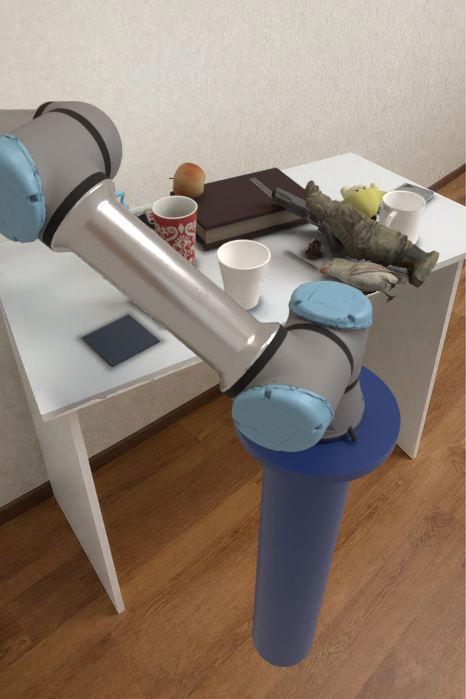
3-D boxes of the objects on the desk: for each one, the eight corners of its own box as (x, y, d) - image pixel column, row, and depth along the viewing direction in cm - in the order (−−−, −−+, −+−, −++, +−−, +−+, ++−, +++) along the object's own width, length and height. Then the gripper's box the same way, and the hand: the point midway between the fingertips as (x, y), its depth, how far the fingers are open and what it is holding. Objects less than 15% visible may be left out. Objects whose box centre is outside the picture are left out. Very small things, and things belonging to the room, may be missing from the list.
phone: (434, 196, 147) (435, 192, 146) (403, 221, 138) (404, 216, 137) (404, 187, 151) (405, 182, 150) (372, 210, 142) (373, 205, 141)
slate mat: (160, 341, 106) (160, 340, 106) (112, 366, 101) (112, 365, 101) (128, 315, 111) (128, 314, 111) (82, 338, 106) (82, 336, 106)
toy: (376, 172, 142) (401, 188, 129) (379, 200, 145) (404, 217, 132) (323, 188, 142) (342, 205, 129) (327, 215, 145) (347, 234, 132)
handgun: (267, 224, 122) (269, 195, 130) (346, 260, 126) (344, 230, 135) (273, 213, 120) (275, 184, 129) (354, 250, 124) (351, 220, 133)
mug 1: (206, 270, 122) (204, 212, 113) (164, 280, 120) (159, 221, 111) (185, 240, 131) (182, 184, 122) (146, 249, 128) (139, 192, 119)
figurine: (315, 268, 123) (317, 251, 120) (288, 252, 127) (289, 236, 125) (333, 259, 126) (335, 242, 123) (305, 243, 130) (307, 227, 127)
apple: (198, 205, 128) (163, 195, 128) (201, 203, 136) (167, 193, 135) (208, 168, 126) (171, 157, 125) (210, 167, 133) (176, 157, 133)
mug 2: (393, 223, 137) (401, 186, 131) (425, 240, 132) (434, 202, 125) (358, 240, 131) (364, 202, 125) (390, 258, 126) (398, 219, 120)
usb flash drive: (155, 226, 134) (155, 230, 134) (172, 217, 136) (173, 221, 137) (131, 213, 138) (132, 217, 139) (148, 205, 141) (149, 209, 142)
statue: (406, 298, 124) (283, 227, 125) (428, 260, 125) (305, 190, 126) (423, 289, 113) (288, 211, 114) (447, 248, 114) (312, 170, 115)
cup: (275, 294, 116) (278, 246, 109) (256, 323, 110) (258, 274, 102) (229, 282, 119) (229, 234, 112) (208, 309, 113) (207, 261, 105)
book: (271, 186, 150) (273, 164, 146) (314, 221, 137) (316, 198, 133) (170, 211, 140) (168, 188, 137) (205, 251, 128) (205, 227, 124)
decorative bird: (316, 283, 120) (334, 267, 125) (390, 308, 112) (406, 291, 117) (319, 259, 117) (337, 244, 121) (395, 284, 109) (411, 267, 114)
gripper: (-89, 196, 111) (16, 164, 121) (-34, 250, 97) (79, 209, 108) (-104, 157, 106) (7, 127, 116) (-48, 209, 92) (72, 170, 103)
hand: (42, 166), depth 112 cm, fingers open, 13 cm apart
